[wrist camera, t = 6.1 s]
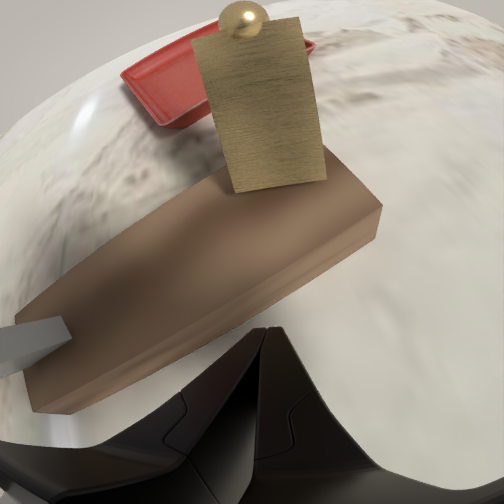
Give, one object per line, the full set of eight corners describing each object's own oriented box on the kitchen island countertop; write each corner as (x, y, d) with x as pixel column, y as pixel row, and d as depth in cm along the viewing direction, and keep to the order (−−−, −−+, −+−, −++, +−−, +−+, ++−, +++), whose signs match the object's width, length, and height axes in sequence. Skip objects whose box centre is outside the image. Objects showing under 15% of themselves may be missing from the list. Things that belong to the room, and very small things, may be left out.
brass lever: (328, 182, 16) (292, -12, 9) (234, 197, 17) (180, 14, 10) (322, 164, 17) (289, -5, 11) (239, 176, 18) (193, 16, 12)
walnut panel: (374, 238, 19) (382, 205, 16) (70, 414, 19) (32, 412, 15) (307, 162, 23) (301, 124, 20) (47, 328, 22) (14, 316, 19)
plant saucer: (237, 30, 37) (231, 12, 34) (322, 67, 29) (319, 42, 26) (129, 91, 36) (118, 73, 33) (175, 152, 28) (160, 128, 25)
